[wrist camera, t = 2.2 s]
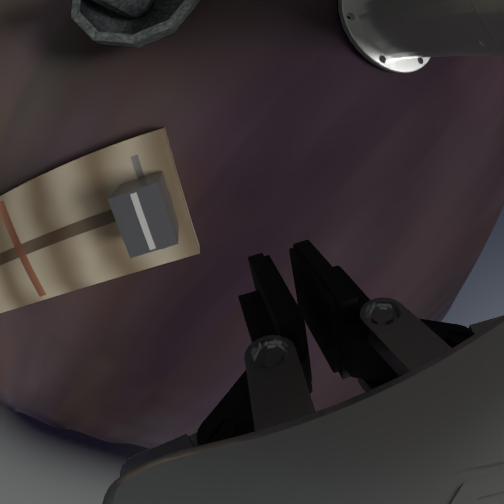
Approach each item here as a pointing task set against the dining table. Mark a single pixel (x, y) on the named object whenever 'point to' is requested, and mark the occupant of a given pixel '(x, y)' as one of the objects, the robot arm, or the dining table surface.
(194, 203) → the dining table surface
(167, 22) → the mortar and pestle
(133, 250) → the fader knob
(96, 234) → the fader board
